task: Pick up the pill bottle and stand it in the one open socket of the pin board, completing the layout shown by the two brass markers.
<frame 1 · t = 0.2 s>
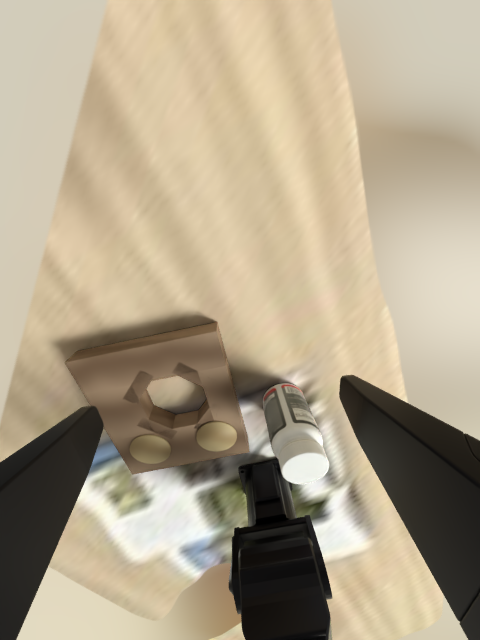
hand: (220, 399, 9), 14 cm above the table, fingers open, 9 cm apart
pill bottle: (282, 397, 27), on the table
pin board: (172, 399, 26), on the table
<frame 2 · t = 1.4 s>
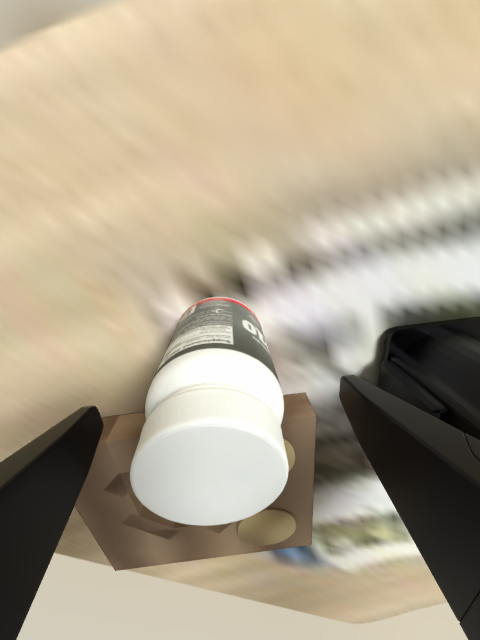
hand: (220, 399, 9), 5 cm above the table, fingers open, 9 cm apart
pill bottle: (219, 332, 14), on the table
pin board: (201, 476, 18), on the table
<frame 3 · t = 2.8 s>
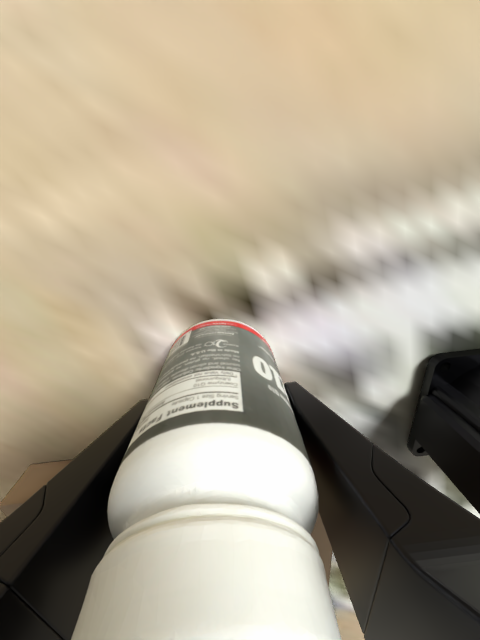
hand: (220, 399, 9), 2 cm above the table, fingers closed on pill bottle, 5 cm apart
pill bottle: (221, 360, 11), on the table, touching gripper
pin board: (200, 521, 16), on the table
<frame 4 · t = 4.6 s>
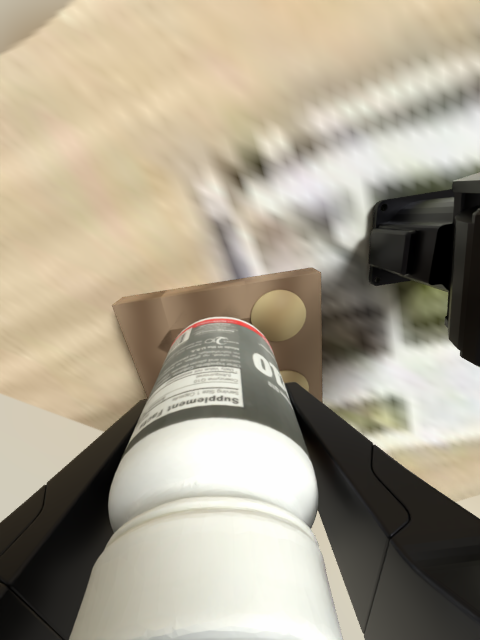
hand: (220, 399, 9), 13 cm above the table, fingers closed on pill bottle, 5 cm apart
pill bottle: (221, 358, 11), point 10 cm above the table, touching gripper
pin board: (230, 353, 23), on the table
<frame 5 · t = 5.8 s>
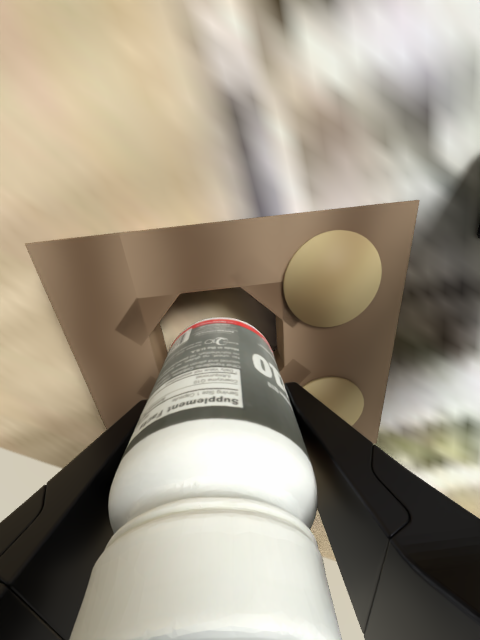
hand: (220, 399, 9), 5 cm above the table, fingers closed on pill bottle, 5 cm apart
pill bottle: (221, 358, 11), point 3 cm above the table, touching gripper
pin board: (239, 347, 14), on the table
when the fingers open (3 cm above the table, at t = 6.6 s): pill bottle stays where it is, resting in pin board.
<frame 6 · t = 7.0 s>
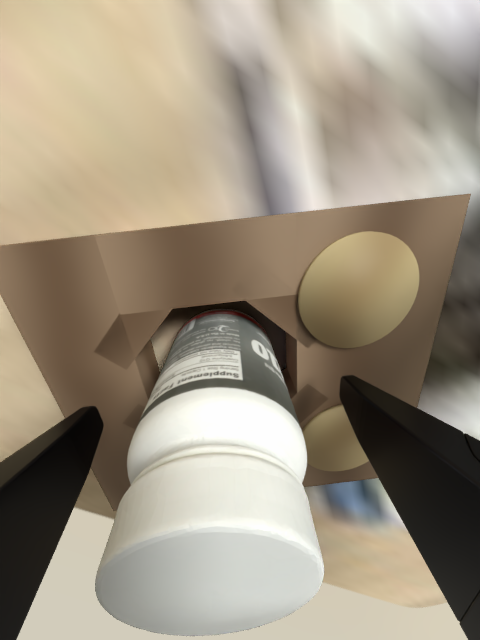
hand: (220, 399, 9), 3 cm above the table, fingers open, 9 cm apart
pill bottle: (222, 348, 12), resting in pin board
pin board: (243, 366, 12), on the table
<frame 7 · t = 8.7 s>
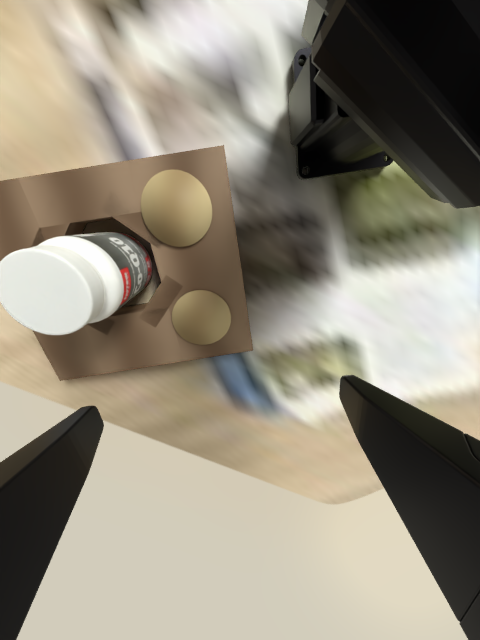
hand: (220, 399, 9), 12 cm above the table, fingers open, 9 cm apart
pill bottle: (122, 263, 18), resting in pin board
pin board: (138, 276, 19), on the table
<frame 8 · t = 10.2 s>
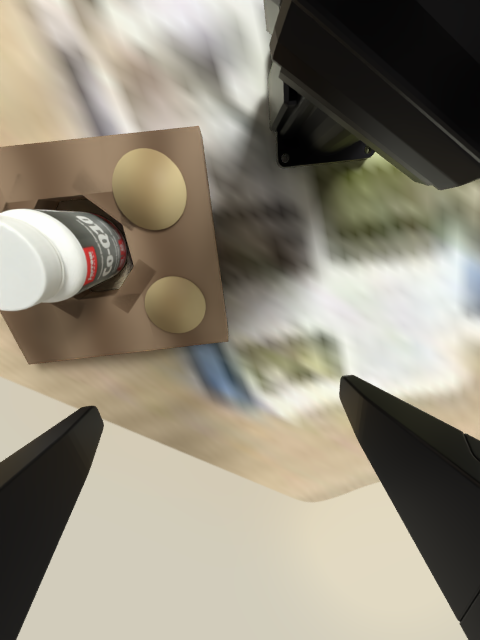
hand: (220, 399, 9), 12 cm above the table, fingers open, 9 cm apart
pill bottle: (97, 246, 18), resting in pin board
pin board: (112, 260, 18), on the table
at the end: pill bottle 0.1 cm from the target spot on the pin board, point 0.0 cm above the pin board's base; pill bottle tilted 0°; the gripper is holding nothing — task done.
